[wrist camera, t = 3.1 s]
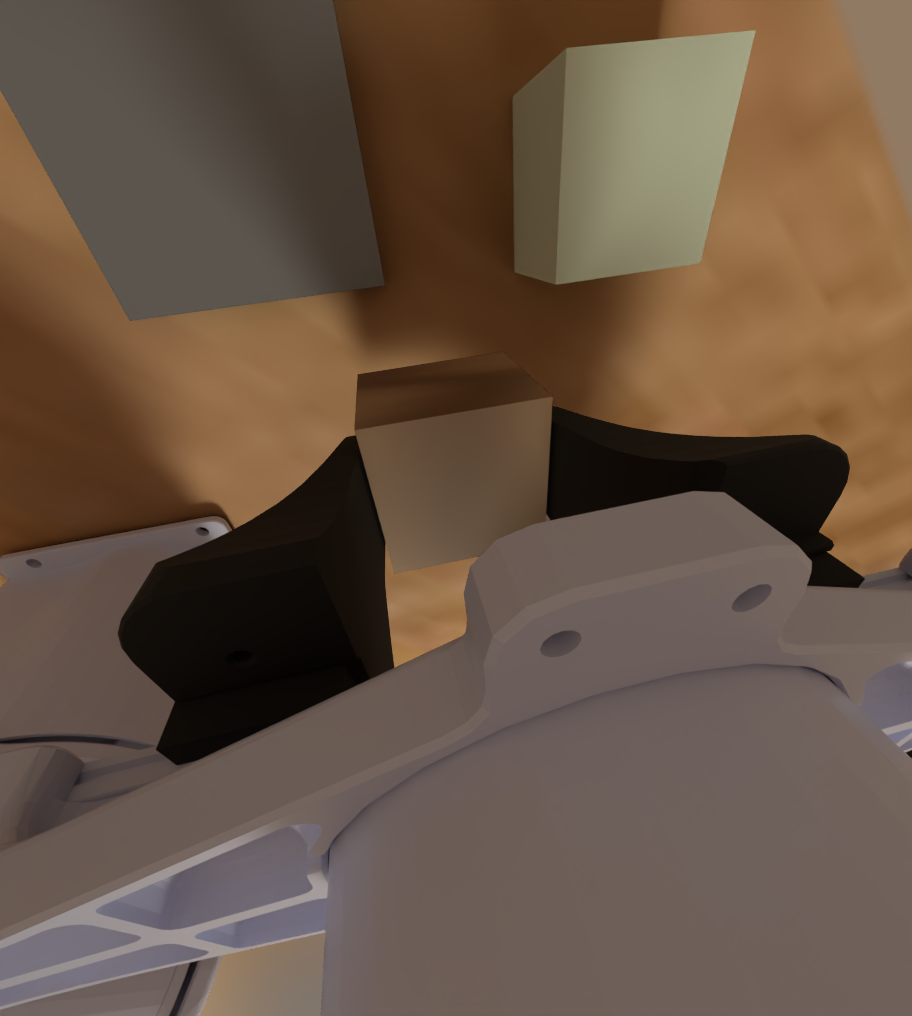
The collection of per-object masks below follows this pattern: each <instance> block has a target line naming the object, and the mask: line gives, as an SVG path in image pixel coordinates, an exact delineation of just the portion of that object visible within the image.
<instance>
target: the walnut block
mask: <svg viewBox="0 0 912 1016" xmlns="http://www.w3.org/2000/svg"><path fill="white" fill-rule="evenodd" d="M552 401H553V396H551V395H550V394H549V393H548V392H547V391H546V390H545V389H544V388H543V387H542V386H540V385H539V384H538V383H537V382H536V381H535V380H534V379H533V378H532V377H530V376H529V375H528V374H527V373H526V372H525V371H524V370H523V369H522V368H521V367H519V366H518V365H517V364H516V363H515V362H514V361H513V360H512V359H511V358H510V357H508V356H507V355H506V354H505V353H504V352H498V353H491V354H485V355H479V356H472V357H466V358H459V359H453V360H447V361H440V362H434V363H428V364H421V365H415V366H408V367H402V368H396V369H389V370H383V371H376V372H370V373H364V374H358V380H357V397H356V414H355V434H356V437H357V441H358V445H359V448H360V452H361V455H362V459H363V462H364V466H365V470H366V473H367V477H368V480H369V484H370V488H371V491H372V495H373V498H374V502H375V505H376V509H377V513H378V516H379V520H380V523H381V527H382V531H383V534H384V538H385V541H386V545H387V548H388V552H389V556H390V559H391V563H392V566H393V570H394V574H395V573H400V572H405V571H410V570H415V569H420V568H425V567H429V566H434V565H439V564H444V563H449V562H454V561H459V560H464V559H468V558H473V557H478V556H481V555H482V554H483V553H484V552H485V551H486V550H487V549H488V548H489V547H490V546H491V545H492V544H493V543H494V542H495V541H496V540H497V539H499V538H502V537H504V536H507V535H509V534H511V533H514V532H516V531H518V530H521V529H523V528H526V527H528V526H530V525H533V524H536V523H541V522H546V508H547V490H548V472H549V454H550V437H551V419H552Z"/></svg>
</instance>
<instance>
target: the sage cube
mask: <svg viewBox="0 0 912 1016" xmlns="http://www.w3.org/2000/svg"><path fill="white" fill-rule="evenodd" d="M755 31H756V30H754V31H743V32H732V33H721V34H710V35H700V36H689V37H678V38H667V39H657V40H646V41H635V42H624V43H614V44H603V45H592V46H581V47H571V48H566V49H565V50H564V51H563V52H561V53H560V54H559V55H558V56H557V57H556V58H555V59H554V60H553V61H551V62H550V63H549V64H548V65H547V66H546V67H545V68H544V69H543V70H541V71H540V72H539V73H538V74H537V75H536V76H535V77H534V78H533V79H531V80H530V81H529V82H528V83H527V84H526V85H525V86H524V87H522V88H521V89H520V90H519V91H518V92H517V93H516V94H515V95H514V96H513V188H514V272H515V273H518V274H522V275H525V276H528V277H531V278H535V279H538V280H541V281H544V282H548V283H551V284H554V285H558V284H565V283H571V282H578V281H585V280H592V279H598V278H605V277H612V276H619V275H625V274H632V273H639V272H646V271H652V270H659V269H666V268H673V267H679V266H686V265H693V264H700V262H701V258H702V254H703V249H704V245H705V241H706V237H707V233H708V228H709V224H710V220H711V216H712V212H713V207H714V203H715V199H716V195H717V191H718V186H719V182H720V178H721V174H722V170H723V165H724V161H725V157H726V153H727V149H728V144H729V140H730V136H731V132H732V128H733V123H734V119H735V115H736V111H737V107H738V102H739V98H740V94H741V90H742V86H743V81H744V77H745V73H746V69H747V65H748V60H749V56H750V52H751V48H752V44H753V39H754V35H755Z"/></svg>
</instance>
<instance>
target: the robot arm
mask: <svg viewBox="0 0 912 1016" xmlns="http://www.w3.org/2000/svg"><path fill="white" fill-rule="evenodd" d="M849 469H850V465H849V461H848V456H847V454H846V453H845V452H844V451H843V450H842V449H841V448H840V447H839V446H837V445H834V444H832V443H830V442H828V441H826V440H823V439H821V438H819V437H817V436H813V435H785V436H763V437H711V436H692V435H681V434H670V433H661V432H654V431H648V430H642V429H636V428H631V427H626V426H621V425H617V424H613V423H609V422H605V421H601V420H598V419H594V418H591V417H587V416H584V415H581V414H578V413H574V412H571V411H568V410H565V409H561V408H558V407H555V406H552V419H551V437H550V454H549V472H548V490H547V508H546V514H547V516H548V517H549V519H550V520H551V521H546V522H541V523H536V524H533V525H530V526H528V527H526V528H523V529H521V530H518V531H516V532H514V533H511V534H509V535H507V536H504V537H502V538H499V539H497V540H496V541H495V542H494V543H493V544H492V545H491V546H490V547H489V548H488V549H487V550H486V551H485V552H484V553H483V554H482V555H481V556H480V557H479V558H478V559H477V560H476V561H475V562H474V563H473V564H472V565H471V566H470V570H469V574H468V578H467V582H466V586H465V591H464V599H465V607H466V614H467V628H466V632H465V634H464V635H463V636H461V637H459V638H457V639H455V640H453V641H451V642H448V643H446V644H444V645H442V646H440V647H438V648H436V649H434V650H431V651H429V652H427V653H425V654H423V655H421V656H419V657H416V658H414V659H412V660H410V661H408V662H406V663H404V664H402V665H399V666H397V667H395V668H394V662H393V654H392V646H391V637H390V628H389V619H388V609H387V599H386V590H385V538H384V534H383V531H382V527H381V523H380V520H379V516H378V513H377V509H376V505H375V502H374V498H373V495H372V491H371V488H370V484H369V480H368V477H367V473H366V470H365V466H364V462H363V459H362V455H361V452H360V448H359V445H358V441H357V437H356V435H355V436H350V437H346V438H345V439H344V440H343V441H342V442H341V443H340V444H339V446H338V447H337V448H336V449H335V450H334V451H333V453H332V454H331V455H330V456H329V457H328V458H327V459H326V461H325V462H324V463H323V464H322V465H321V466H320V467H319V468H318V469H317V470H316V471H315V472H314V473H313V474H312V475H311V476H310V477H309V478H308V479H307V480H306V481H305V482H304V483H303V484H302V485H301V486H299V487H298V488H297V489H296V490H295V491H293V492H292V493H291V494H290V495H288V496H287V497H286V498H284V499H283V500H282V501H280V502H279V503H277V504H276V505H274V506H273V507H271V508H270V509H268V510H266V511H265V512H263V513H262V514H260V515H259V516H257V517H255V518H254V519H252V520H251V521H249V522H247V523H245V524H243V525H241V526H240V527H238V528H236V529H234V530H232V529H231V528H230V526H229V524H228V523H227V521H226V520H225V519H223V518H221V517H217V516H210V517H205V518H199V519H194V520H188V521H183V522H178V523H172V524H167V525H161V526H156V527H151V528H145V529H140V530H135V531H129V532H124V533H118V534H113V535H108V536H102V537H97V538H91V539H86V540H81V541H75V542H70V543H64V544H59V545H54V546H48V547H43V548H38V549H32V550H27V551H21V552H16V553H11V554H5V555H3V556H1V557H0V573H1V574H2V575H3V576H4V577H6V578H7V579H8V581H7V582H6V583H4V584H3V585H2V586H1V587H0V1016H200V1014H201V1012H202V1009H203V1007H204V1005H205V1003H206V1000H207V998H208V995H209V993H210V990H211V988H212V985H213V983H214V980H215V977H216V974H217V971H218V968H219V965H220V962H221V959H222V955H225V954H230V953H234V952H239V951H243V950H248V949H252V948H257V947H261V946H266V945H270V944H275V943H279V942H284V941H288V940H293V939H297V938H302V937H306V936H311V935H315V934H320V933H324V932H325V945H324V964H323V982H322V1000H321V1016H912V759H911V758H910V757H909V756H908V755H907V754H906V753H905V752H907V751H910V750H912V548H911V549H910V550H909V551H908V553H907V554H906V555H905V556H904V558H903V559H902V561H901V562H900V564H899V568H895V569H891V570H886V571H882V572H878V573H874V574H870V575H866V576H861V575H859V574H858V573H857V572H855V571H854V570H852V569H851V568H849V567H848V566H846V565H845V564H844V563H842V562H841V561H839V560H838V559H836V558H835V557H833V556H832V555H831V554H829V553H828V552H826V551H830V550H831V549H832V548H833V546H834V544H833V541H832V540H830V539H829V538H827V537H826V536H824V535H823V534H821V533H820V532H819V530H820V528H821V527H822V525H823V523H824V522H825V520H826V518H827V517H828V515H829V514H830V512H831V510H832V509H833V507H834V505H835V504H836V502H837V500H838V499H839V497H840V496H841V494H842V491H843V489H844V487H845V485H846V483H847V480H848V475H849ZM199 527H204V528H206V529H207V530H208V531H204V530H201V529H200V528H199ZM37 560H38V561H37Z"/></svg>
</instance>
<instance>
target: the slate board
mask: <svg viewBox="0 0 912 1016" xmlns="http://www.w3.org/2000/svg"><path fill="white" fill-rule="evenodd" d="M0 90H1V92H2V94H3V95H4V97H5V99H6V101H7V102H8V104H9V106H10V108H11V110H12V111H13V113H14V115H15V117H16V119H17V120H18V122H19V124H20V126H21V127H22V129H23V131H24V133H25V135H26V136H27V138H28V140H29V142H30V144H31V145H32V147H33V149H34V151H35V152H36V154H37V156H38V158H39V160H40V161H41V163H42V165H43V167H44V169H45V170H46V172H47V174H48V176H49V178H50V179H51V181H52V183H53V185H54V186H55V188H56V190H57V192H58V194H59V195H60V197H61V199H62V201H63V203H64V204H65V206H66V208H67V210H68V211H69V213H70V215H71V217H72V219H73V220H74V222H75V224H76V226H77V228H78V229H79V231H80V233H81V235H82V236H83V238H84V240H85V242H86V244H87V245H88V247H89V249H90V251H91V253H92V254H93V256H94V258H95V260H96V261H97V263H98V265H99V267H100V269H101V270H102V272H103V274H104V276H105V278H106V279H107V281H108V283H109V285H110V286H111V288H112V290H113V292H114V294H115V295H116V297H117V299H118V301H119V303H120V304H121V306H122V308H123V310H124V311H125V313H126V315H127V317H128V319H129V320H130V321H132V320H140V319H147V318H154V317H161V316H168V315H176V314H183V313H190V312H197V311H205V310H212V309H219V308H226V307H233V306H241V305H248V304H255V303H262V302H270V301H277V300H284V299H291V298H299V297H306V296H313V295H320V294H327V293H335V292H342V291H349V290H356V289H364V288H371V287H378V286H385V282H384V277H383V271H382V266H381V260H380V255H379V249H378V244H377V238H376V233H375V227H374V222H373V217H372V211H371V206H370V200H369V195H368V189H367V184H366V178H365V173H364V167H363V162H362V157H361V151H360V146H359V140H358V135H357V129H356V124H355V118H354V113H353V107H352V102H351V97H350V91H349V86H348V80H347V75H346V69H345V64H344V58H343V53H342V47H341V42H340V37H339V31H338V26H337V20H336V15H335V9H334V4H333V0H0Z"/></svg>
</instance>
